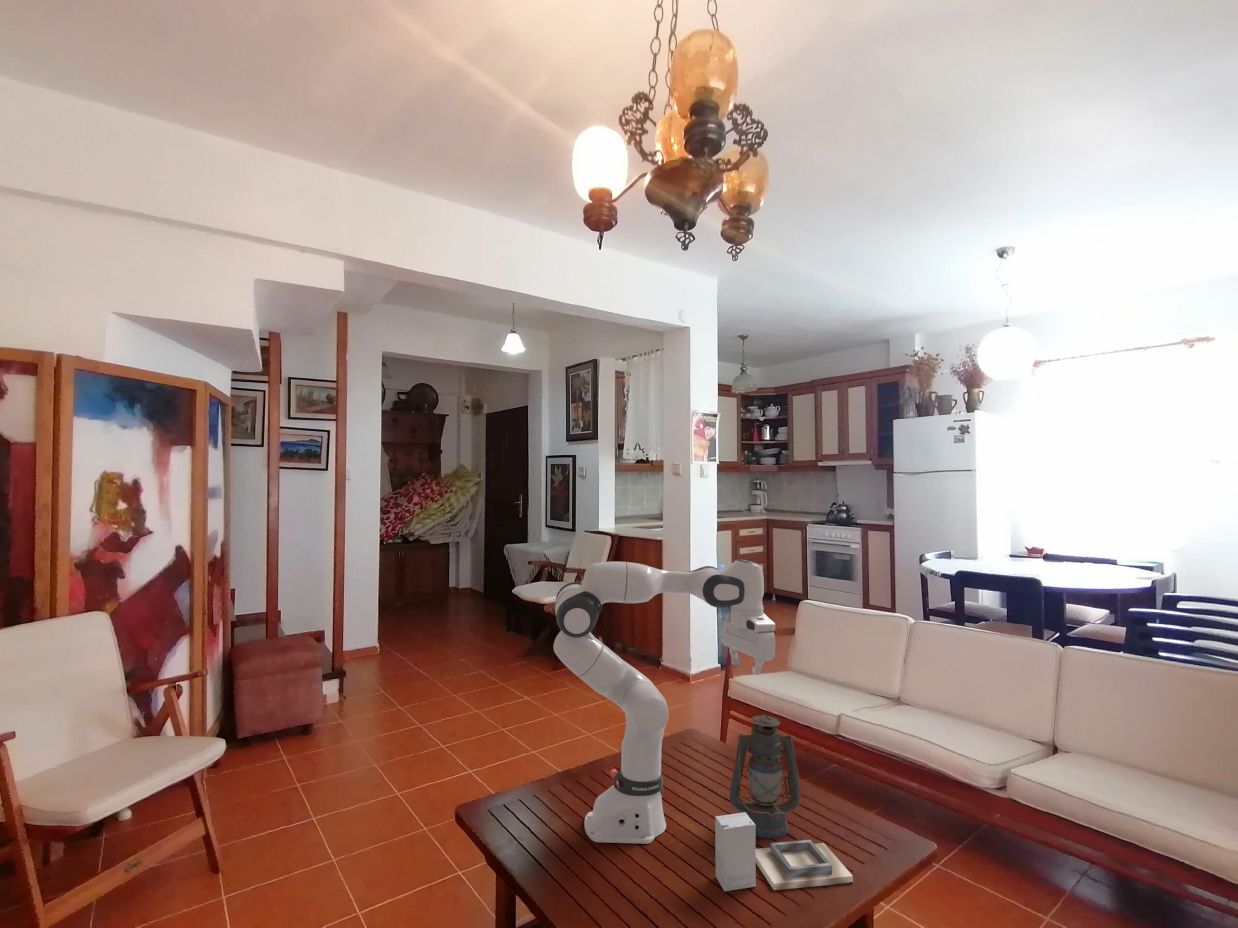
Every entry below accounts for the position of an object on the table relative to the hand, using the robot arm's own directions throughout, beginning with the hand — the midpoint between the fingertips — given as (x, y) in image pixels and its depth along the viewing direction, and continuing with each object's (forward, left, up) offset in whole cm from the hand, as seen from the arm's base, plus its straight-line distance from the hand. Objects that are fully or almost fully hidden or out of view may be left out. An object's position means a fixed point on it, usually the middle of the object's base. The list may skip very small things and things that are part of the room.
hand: (745, 668), depth 174 cm
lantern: (+6, 0, -44) cm, 44 cm away
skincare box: (-11, -22, -44) cm, 50 cm away
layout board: (+7, -19, -43) cm, 48 cm away
